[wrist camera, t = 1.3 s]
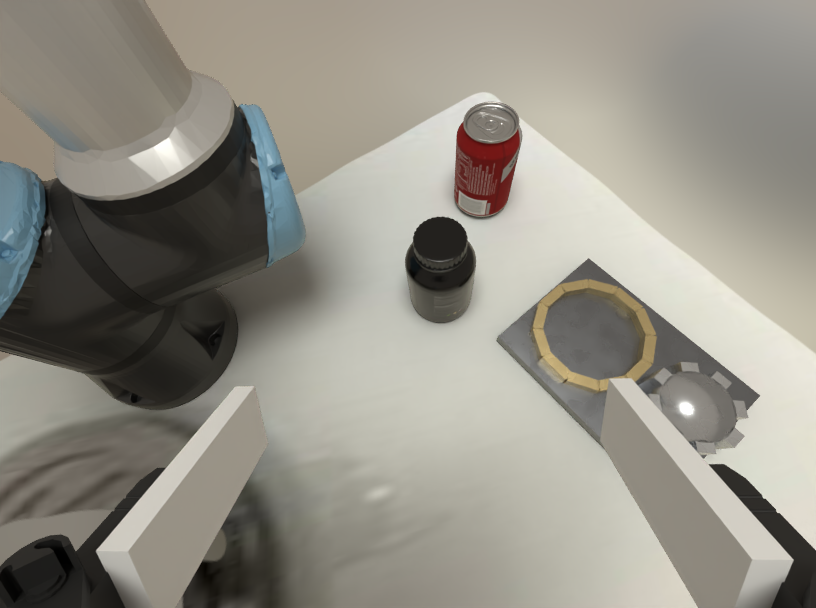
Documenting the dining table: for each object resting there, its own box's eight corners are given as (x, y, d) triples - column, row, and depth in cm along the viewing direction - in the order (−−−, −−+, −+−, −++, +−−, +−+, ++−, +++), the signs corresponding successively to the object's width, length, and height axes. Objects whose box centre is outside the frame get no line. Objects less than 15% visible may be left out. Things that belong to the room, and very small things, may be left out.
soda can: (484, 229, 48) (497, 156, 37) (443, 201, 50) (443, 125, 39) (518, 195, 49) (539, 116, 38) (476, 169, 52) (485, 88, 41)
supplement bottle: (479, 282, 45) (491, 220, 34) (457, 333, 43) (461, 284, 32) (425, 262, 47) (420, 197, 36) (401, 310, 44) (387, 257, 33)
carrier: (496, 340, 42) (503, 324, 37) (584, 265, 45) (600, 241, 40) (656, 500, 35) (688, 504, 30) (748, 398, 38) (790, 388, 33)
